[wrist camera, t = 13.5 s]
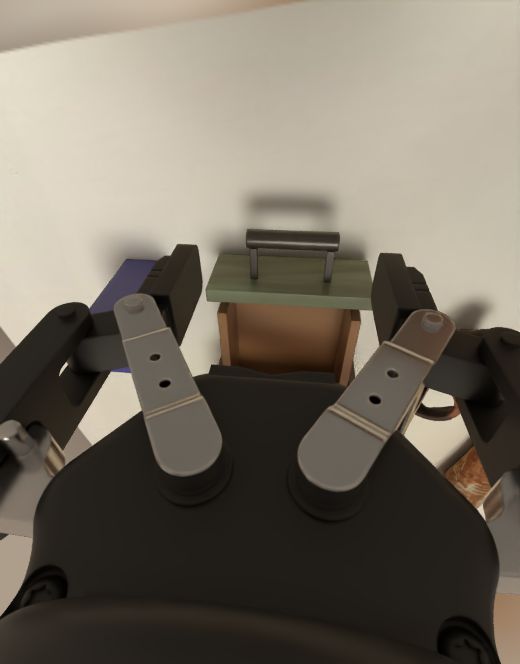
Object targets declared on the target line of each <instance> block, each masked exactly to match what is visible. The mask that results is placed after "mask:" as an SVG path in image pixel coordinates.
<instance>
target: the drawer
mask: <svg viewBox="0 0 520 664" xmlns="http://www.w3.org/2000/svg"><path fill="white" fill-rule="evenodd" d="M339 242H340V234H339V232H314V231H287V230H261V229H247V232H246V246H247V248H250V249H249V251H250V255H229V254H219V256H218V258H217V261H216V264H215V266H214V269H213V271H212V274H211V277H210V279H209V282H208V285H207V287H206V297H207V301H212V302H221V303H220V306H219V309H218V312H217V316H218V325H219V334H220V343H221V352H222V361H223V365H226V366H240V367H244V368H248V369H252V370H255V371H259V372H262V373H266V374H270V375H276V374H284V373H292V372H300V371H311V372H325V373H335V383H339V384H342V385H344V386H347V384H348V379H349V375H350V370H351V366H352V361H353V356H354V352H355V347H356V343H357V338H358V334H359V329H360V325H361V318H360V311H359V310H372V305H371V290H372V285H373V283H372V278H371V274H370V269H369V265H368V261H365V260H342V259H334V255H335V251H338V249H339ZM258 248H267V249H291V250H314V251H326V259H320V258H297V257H274V256H258Z"/></svg>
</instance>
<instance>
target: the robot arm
mask: <svg viewBox="0 0 520 664" xmlns="http://www.w3.org/2000/svg"><path fill="white" fill-rule="evenodd" d="M202 284H203V281H202V272H201V265H200V257H199V250H198V247H197V245H189V244H177V246H176V247H175V249H174V251H173V252H172V254H171V256H164V257H162V258H161V259H159V260H158V261H157V262H155V264H154V266H153V267H152V269H151V271H150V272H149V274H148V275H147V277H146V278H145V280H144V282H143V283H142V285H141V286H140V288H139V289H138V291H137V293H136V294H132V295H128V296H126V297H123V298H121V299H120V300H119V301H117V302H116V304H115V305H114V308H113V309H114V310H112V311H106V312H99V313H93V314H91V313H90V310H89V308H88V306H87V305H85V304H83V303H79V302H72V303H66V304H62V305H60V306H57V307H55V308H54V309H52V310H51V311H50V312H49V313H48V314H47V315H46V316H45V317H44V318H43V319H42V320H41V321H40V322H39V323H38V324H37V325H36V326H35V327H34V329H33V330H32V331H31V332H30V333H29V334H28V335H27V336H26V337H25V338H24V339H23V340H22V341H21V342H20V344H19V345H18V346H17V347H16V348H15V349H14V350H13V351H12V352H11V353H10V354H9V355H8V356H7V357H6V359H5V360H4V361H3V362H2V363H1V364H0V540H2V539H3V538H4V537H6V536H7V535H9V534H12V535H19V536H24V537H31V538H33V544H32V552H31V557H30V562H29V566H28V569H27V573H26V576H25V579H24V581H23V584H22V586H21V588H20V590H19V591H18V593H17V595H16V597H15V598H14V599H13V601H12V602H11V604H10V605H9V606H8V608H7V609H6V610H5V612H4V613H3V614H2V615H1V616H0V664H501V662H500V660H499V657H498V653H497V649H496V644H495V638H494V624H493V610H494V599H495V594H496V593H502V594H514V595H520V332H518V331H515V330H512V329H509V328H503V327H495V328H491V329H489V330H487V331H486V332H485V334H484V336H483V337H480V336H476V335H472V334H468V333H464V332H461V331H459V330H456V326H455V323H454V321H453V320H452V319H451V318H450V317H449V316H447V315H446V314H444V313H441V312H439V311H438V310H437V307H436V305H435V303H434V300H433V298H432V295H431V293H430V292H429V288H428V286H427V285H426V281H425V279H424V276H423V275H422V274H421V273H420V272H419V271H418V270H417V269H416V268H414V267H406V265H405V262H404V259H403V257H402V254H397V253H380V255H379V258H378V262H377V267H376V271H375V276H374V280H373V285H372V290H371V305H372V310H373V315H374V320H375V325H376V330H377V335H378V340H379V345H380V346H379V348H378V349H377V350H376V352H375V353H374V354H373V355H372V357H371V358H370V359H369V361H368V362H367V363H366V364H365V366H364V367H363V368H362V370H361V371H360V372H359V373H358V375H357V376H356V377H355V379H354V380H353V381H352V382H351V384H350V385H349V386H348V387H347V386H344V385H342V384H339V383H335V373H325V372H311V371H300V372H292V373H284V374H276V375H270V374H266V373H262V372H259V371H255V370H252V369H248V368H244V367H240V366H226V365H212V364H211V367H210V371H209V373H208V374H203V375H198V376H195V377H192V374H191V372H190V370H189V368H188V366H187V363H186V361H185V359H184V357H183V355H182V353H181V350H180V348H179V347H180V346H181V343H182V341H183V338H184V336H185V333H186V331H187V328H188V325H189V323H190V320H191V318H192V315H193V313H194V310H195V308H196V305H197V303H198V300H199V298H200V295H201V292H202ZM66 362H67V363H68V365H67V367H66V368H65V369H64V371H63V372H62V373H61V375H60V376H59V373H60V370H61V368H62V367H63V365H64V364H65V363H66ZM126 367H130V371H131V374H132V378H133V381H134V385H135V388H136V391H137V395H138V398H139V402H140V405H141V409H142V411H140V412H139V413H137V414H136V415H135V416H133V417H132V418H131V419H129V420H128V421H126V422H125V423H124V424H122V425H121V426H119V427H118V428H117V429H115V430H114V431H112V432H111V433H110V434H108V435H107V436H105V437H104V438H103V439H101V440H100V441H99V442H97V443H96V444H94V445H93V446H92V447H90V448H89V449H87V450H86V451H85V452H83V453H82V454H80V455H79V456H78V457H76V458H75V459H73V460H72V461H71V462H69V463H68V464H67V465H66V466H64V465H65V455H64V453H63V449H64V448H65V446H66V444H67V443H68V441H69V440H70V438H71V436H72V435H73V433H74V431H75V430H76V428H77V426H78V425H79V423H80V421H81V420H82V418H83V416H84V415H85V413H86V412H87V410H88V408H89V407H90V405H91V403H92V402H93V400H94V398H95V397H96V395H97V393H98V392H99V390H100V388H101V387H102V385H103V384H104V382H105V380H106V379H107V377H108V375H109V374H110V372H111V370H114V369H120V368H126ZM429 388H430V389H433V390H436V391H439V392H442V393H446V394H449V395H452V396H454V398H455V401H456V403H457V406H458V408H459V411H460V413H461V416H462V418H463V421H464V423H465V425H466V428H467V430H468V433H469V435H470V438H471V440H472V442H473V445H474V447H475V450H476V452H477V455H478V457H479V460H480V462H481V464H482V467H483V469H484V472H485V474H486V477H487V479H488V482H489V484H490V486H491V490H490V491H489V492H488V493H487V494H486V496H485V498H484V501H483V508H484V513H485V519H486V521H485V520H484V518H483V517H482V516H481V514H480V513H479V512H478V510H477V509H476V508H475V507H474V506H473V505H472V504H471V503H470V501H469V500H468V499H467V498H466V497H465V496H464V495H463V494H462V493H461V492H460V491H459V490H458V489H457V488H456V487H455V486H454V485H453V484H452V483H451V482H450V481H449V480H447V479H446V478H445V477H444V476H443V475H442V474H441V473H440V472H439V471H438V470H437V469H436V468H435V467H434V466H433V465H432V464H431V463H430V462H429V461H428V460H427V459H426V458H425V457H424V456H423V455H422V454H421V453H420V452H419V451H418V450H417V449H416V448H415V447H414V446H413V445H412V444H411V443H410V442H409V441H408V440H407V439H406V438H405V437H404V434H405V432H406V430H407V428H408V426H409V424H410V422H411V420H412V418H413V417H414V415H415V413H416V411H417V409H418V408H419V406H420V404H421V402H422V400H423V399H424V397H425V395H426V393H427V392H428V390H429Z"/></svg>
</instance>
